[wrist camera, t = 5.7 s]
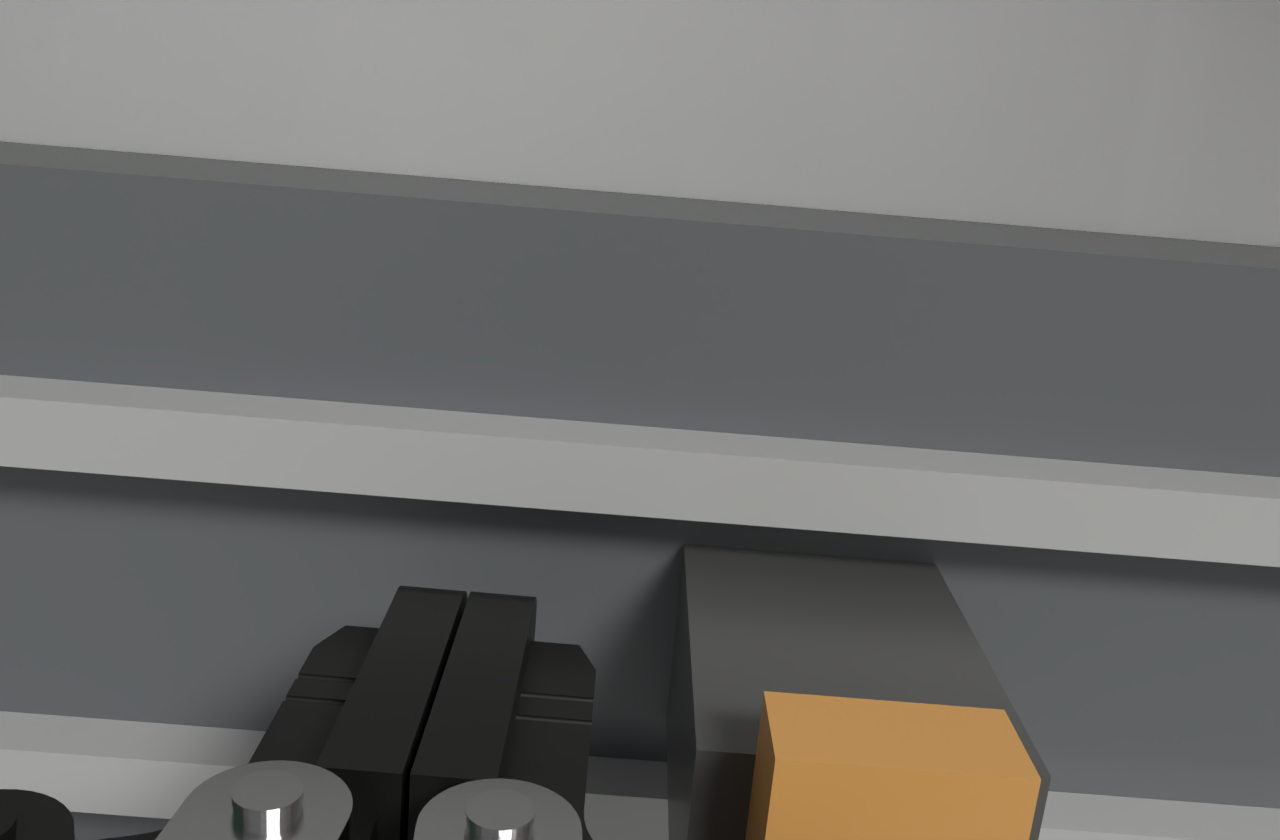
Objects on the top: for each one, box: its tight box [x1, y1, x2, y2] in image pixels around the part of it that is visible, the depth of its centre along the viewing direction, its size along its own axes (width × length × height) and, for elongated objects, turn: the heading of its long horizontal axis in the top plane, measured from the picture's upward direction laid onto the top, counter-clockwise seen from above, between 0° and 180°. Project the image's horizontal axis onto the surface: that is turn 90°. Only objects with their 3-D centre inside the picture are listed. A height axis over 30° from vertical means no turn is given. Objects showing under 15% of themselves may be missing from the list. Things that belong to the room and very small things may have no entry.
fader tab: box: [666, 544, 1051, 840], centre depth 12 cm, size 4×3×5 cm
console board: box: [0, 142, 1280, 840], centre depth 15 cm, size 10×32×3 cm, turn 85°
